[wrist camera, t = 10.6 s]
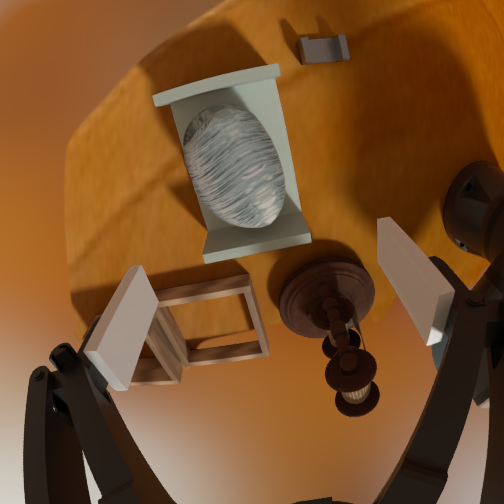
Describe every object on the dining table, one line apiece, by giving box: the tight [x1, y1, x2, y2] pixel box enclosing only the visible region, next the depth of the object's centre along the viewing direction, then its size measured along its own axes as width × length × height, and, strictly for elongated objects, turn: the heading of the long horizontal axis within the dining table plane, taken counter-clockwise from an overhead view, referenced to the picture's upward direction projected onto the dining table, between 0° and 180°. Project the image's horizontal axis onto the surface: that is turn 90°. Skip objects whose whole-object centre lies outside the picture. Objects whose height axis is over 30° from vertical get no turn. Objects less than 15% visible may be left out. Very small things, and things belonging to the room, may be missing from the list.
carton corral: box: [82, 314, 183, 386], centre depth 47 cm, size 13×13×6 cm
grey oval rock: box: [183, 104, 285, 228], centre depth 30 cm, size 14×10×10 cm
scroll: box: [279, 258, 380, 417], centre depth 36 cm, size 15×15×20 cm
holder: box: [153, 63, 312, 264], centre depth 31 cm, size 12×19×7 cm, turn 13°
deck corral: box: [154, 273, 270, 367], centre depth 46 cm, size 15×15×3 cm
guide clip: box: [296, 34, 350, 65], centre depth 26 cm, size 5×3×3 cm, turn 102°
